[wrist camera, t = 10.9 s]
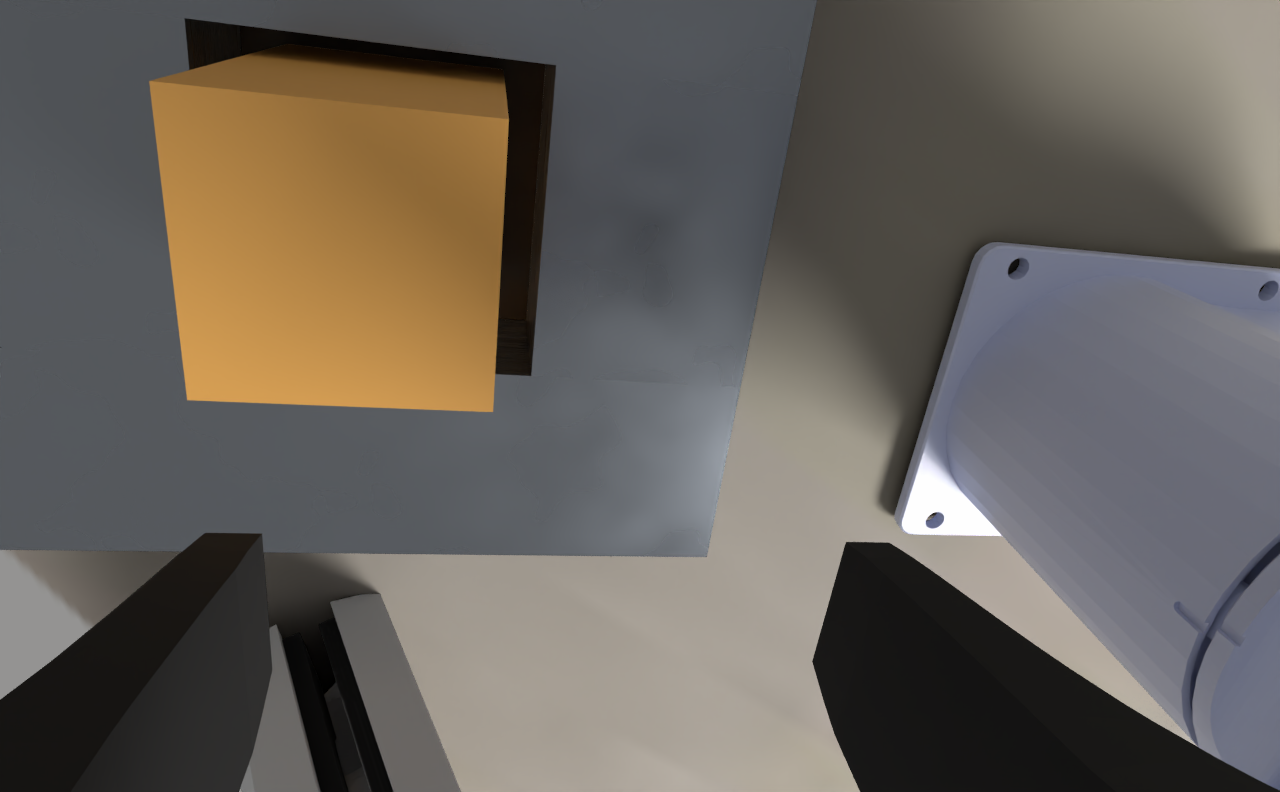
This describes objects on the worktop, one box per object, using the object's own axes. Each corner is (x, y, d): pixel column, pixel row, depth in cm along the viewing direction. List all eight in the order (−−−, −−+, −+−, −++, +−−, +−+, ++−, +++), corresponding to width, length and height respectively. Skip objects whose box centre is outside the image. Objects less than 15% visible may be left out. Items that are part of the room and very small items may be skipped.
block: (503, 69, 16) (508, 118, 10) (493, 265, 18) (492, 412, 12) (287, 43, 16) (148, 80, 9) (298, 251, 17) (187, 400, 11)
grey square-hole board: (792, -163, 15) (855, -194, 13) (679, 485, 21) (706, 557, 19) (-81, -329, 13) (-235, -415, 10) (68, 468, 18) (-3, 549, 16)
